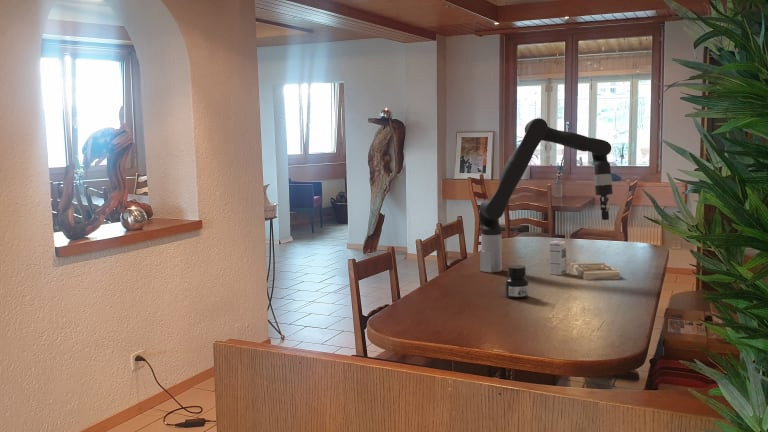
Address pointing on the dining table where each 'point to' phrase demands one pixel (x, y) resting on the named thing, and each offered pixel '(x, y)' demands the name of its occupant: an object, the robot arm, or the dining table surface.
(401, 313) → the dining table surface
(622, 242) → the dining table surface
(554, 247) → the syrup box
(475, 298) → the dining table surface
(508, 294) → the ink bottle
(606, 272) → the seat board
